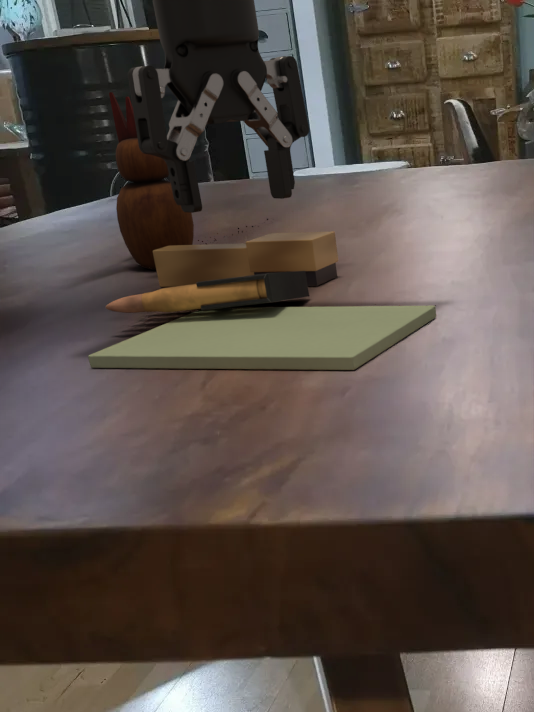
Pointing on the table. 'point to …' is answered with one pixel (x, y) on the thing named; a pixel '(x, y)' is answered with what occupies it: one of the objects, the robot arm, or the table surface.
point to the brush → (250, 259)
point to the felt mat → (268, 338)
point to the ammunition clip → (218, 294)
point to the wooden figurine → (145, 196)
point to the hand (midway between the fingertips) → (238, 204)
